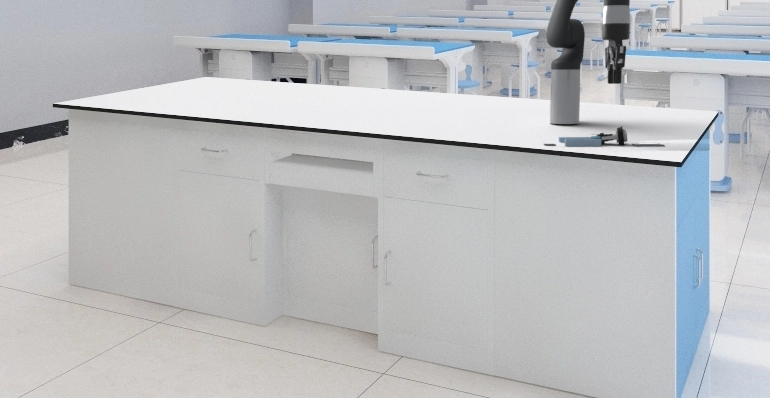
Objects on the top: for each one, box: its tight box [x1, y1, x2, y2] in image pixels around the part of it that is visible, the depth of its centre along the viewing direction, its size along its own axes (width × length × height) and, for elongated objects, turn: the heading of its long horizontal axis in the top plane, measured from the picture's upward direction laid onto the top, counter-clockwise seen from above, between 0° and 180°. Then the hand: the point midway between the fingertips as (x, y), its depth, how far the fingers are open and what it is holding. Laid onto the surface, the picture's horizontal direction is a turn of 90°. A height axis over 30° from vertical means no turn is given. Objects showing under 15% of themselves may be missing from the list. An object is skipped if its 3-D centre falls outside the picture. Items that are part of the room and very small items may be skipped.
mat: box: [631, 143, 665, 147], centre depth 263 cm, size 8×8×1 cm
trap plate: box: [543, 143, 557, 146], centre depth 266 cm, size 5×3×1 cm, turn 1°
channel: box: [557, 136, 602, 147], centre depth 265 cm, size 10×10×2 cm
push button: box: [590, 125, 628, 146], centre depth 264 cm, size 7×5×10 cm
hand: (614, 83), depth 263 cm, fingers open, 5 cm apart
